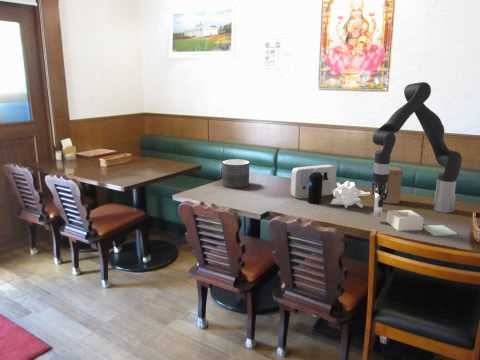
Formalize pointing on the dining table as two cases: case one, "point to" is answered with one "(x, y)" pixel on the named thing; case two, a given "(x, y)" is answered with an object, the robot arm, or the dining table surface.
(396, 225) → the socket
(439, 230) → the mat
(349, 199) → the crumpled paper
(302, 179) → the rounded white slab
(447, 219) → the dining table surface
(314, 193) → the black tall cylinder
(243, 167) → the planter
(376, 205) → the key peg
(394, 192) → the wooden block
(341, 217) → the dining table surface
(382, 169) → the robot arm
